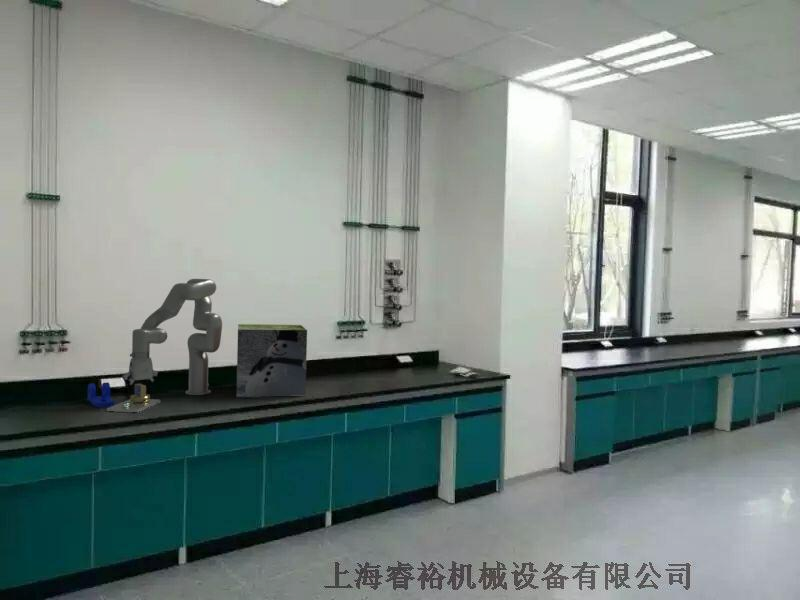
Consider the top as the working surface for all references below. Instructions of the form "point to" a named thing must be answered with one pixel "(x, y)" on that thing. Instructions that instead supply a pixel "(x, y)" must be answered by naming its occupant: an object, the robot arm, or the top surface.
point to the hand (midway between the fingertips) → (140, 391)
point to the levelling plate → (132, 406)
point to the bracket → (100, 400)
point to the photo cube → (271, 360)
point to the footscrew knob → (140, 394)
